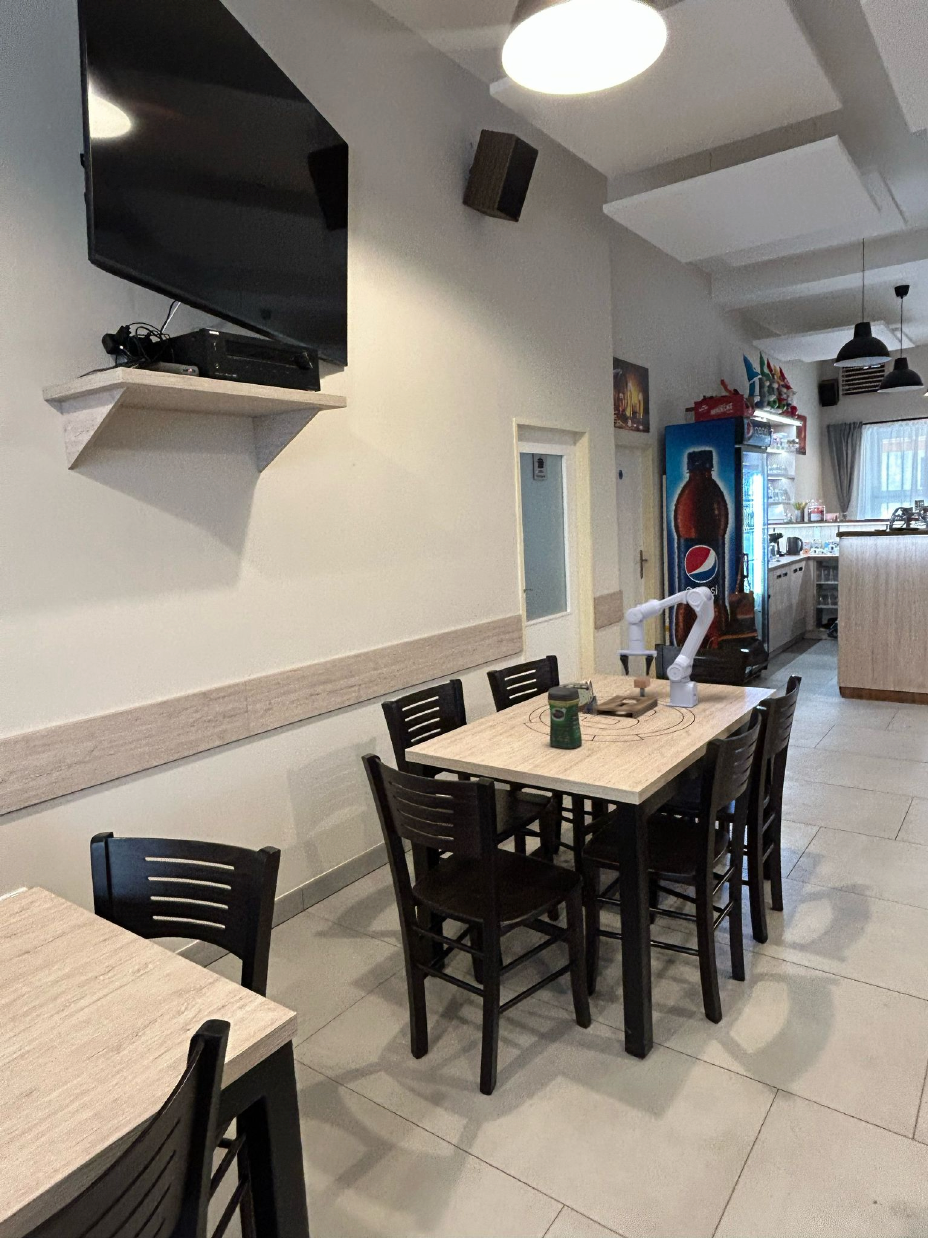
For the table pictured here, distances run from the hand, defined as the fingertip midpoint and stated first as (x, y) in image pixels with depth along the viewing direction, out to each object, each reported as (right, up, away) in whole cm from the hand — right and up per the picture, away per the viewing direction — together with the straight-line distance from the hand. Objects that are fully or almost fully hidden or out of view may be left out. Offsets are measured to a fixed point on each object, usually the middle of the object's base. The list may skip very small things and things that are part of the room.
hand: (637, 675), depth 299 cm
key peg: (+2, -10, +1) cm, 10 cm away
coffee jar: (-34, -19, -52) cm, 65 cm away
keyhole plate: (-7, -12, -12) cm, 18 cm away
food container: (-25, -13, -8) cm, 29 cm away
